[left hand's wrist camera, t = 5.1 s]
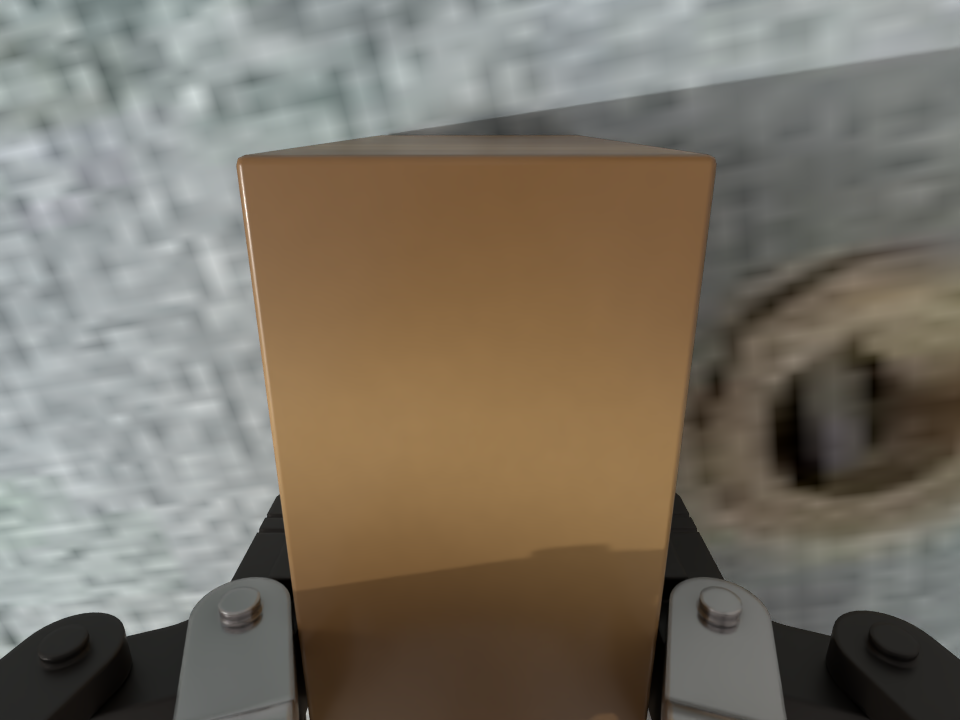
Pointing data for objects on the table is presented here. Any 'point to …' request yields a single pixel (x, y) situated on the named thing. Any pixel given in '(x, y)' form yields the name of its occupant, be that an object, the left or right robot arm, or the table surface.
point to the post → (477, 413)
